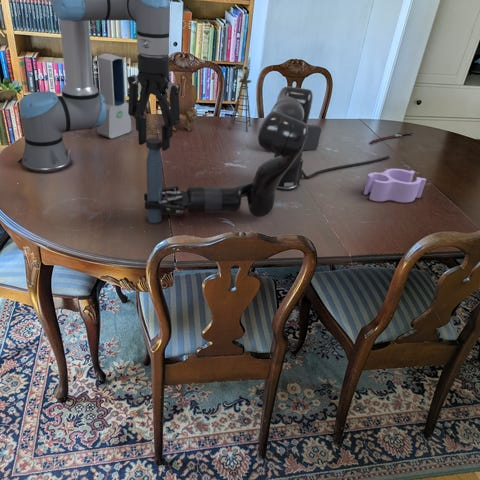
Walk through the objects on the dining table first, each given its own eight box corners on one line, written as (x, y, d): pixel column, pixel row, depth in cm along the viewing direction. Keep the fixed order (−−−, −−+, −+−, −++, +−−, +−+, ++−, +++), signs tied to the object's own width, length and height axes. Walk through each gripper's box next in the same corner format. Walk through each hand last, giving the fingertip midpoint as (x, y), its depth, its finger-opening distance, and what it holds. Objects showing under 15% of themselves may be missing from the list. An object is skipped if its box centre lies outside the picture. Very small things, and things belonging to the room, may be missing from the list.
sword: (407, 132, 223) (408, 129, 223) (413, 134, 221) (413, 131, 221) (364, 143, 208) (365, 141, 207) (370, 146, 206) (370, 143, 205)
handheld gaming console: (315, 147, 196) (319, 124, 190) (317, 149, 194) (322, 126, 188) (264, 149, 189) (267, 125, 183) (266, 152, 187) (269, 127, 181)
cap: (156, 151, 121) (156, 144, 120) (143, 147, 123) (143, 141, 122) (164, 146, 125) (164, 140, 124) (151, 142, 126) (151, 136, 125)
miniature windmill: (247, 131, 204) (254, 60, 188) (228, 128, 205) (234, 57, 189) (250, 125, 212) (258, 55, 196) (232, 122, 213) (238, 53, 197)
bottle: (151, 214, 138) (150, 138, 125) (164, 217, 137) (164, 141, 124) (145, 221, 134) (143, 143, 122) (158, 224, 134) (157, 146, 121)
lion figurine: (195, 126, 204) (195, 105, 199) (198, 130, 200) (199, 109, 195) (161, 127, 199) (161, 106, 194) (164, 131, 195) (164, 110, 190)
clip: (376, 205, 156) (381, 186, 152) (357, 188, 166) (361, 170, 162) (425, 200, 162) (431, 182, 159) (404, 184, 172) (409, 167, 168)
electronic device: (109, 139, 182) (104, 59, 166) (96, 134, 185) (89, 55, 169) (132, 131, 192) (129, 55, 175) (118, 127, 195) (114, 51, 178)
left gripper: (109, 50, 111) (114, 142, 123) (182, 64, 105) (179, 159, 118) (127, 45, 117) (130, 134, 129) (196, 58, 111) (193, 149, 124)
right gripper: (201, 177, 139) (143, 178, 135) (209, 200, 128) (145, 201, 124) (200, 199, 143) (143, 200, 140) (207, 223, 132) (145, 225, 128)
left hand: (154, 145), depth 123 cm, fingers open, 6 cm apart
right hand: (144, 201), depth 132 cm, fingers closed on bottle, 4 cm apart
